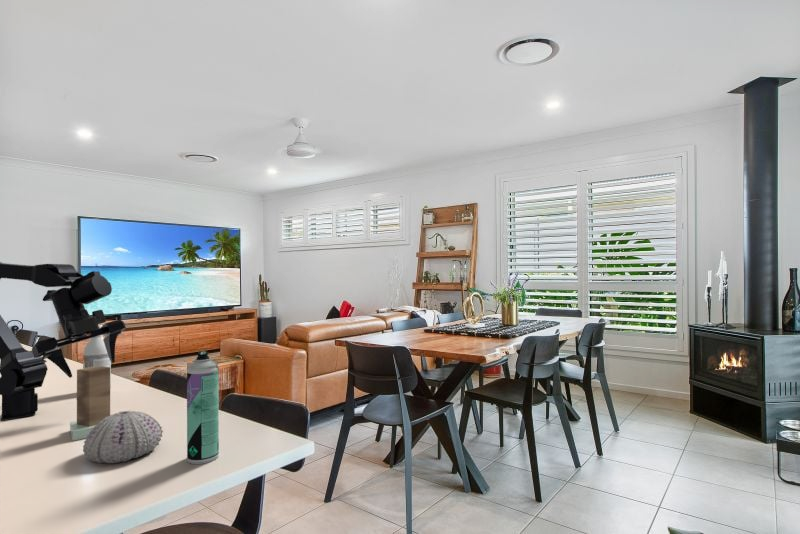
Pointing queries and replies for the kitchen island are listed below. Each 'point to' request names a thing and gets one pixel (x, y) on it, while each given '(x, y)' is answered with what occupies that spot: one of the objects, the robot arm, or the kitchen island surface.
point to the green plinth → (79, 430)
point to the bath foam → (96, 354)
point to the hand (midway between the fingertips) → (92, 369)
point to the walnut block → (93, 395)
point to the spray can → (202, 410)
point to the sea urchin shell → (122, 437)
